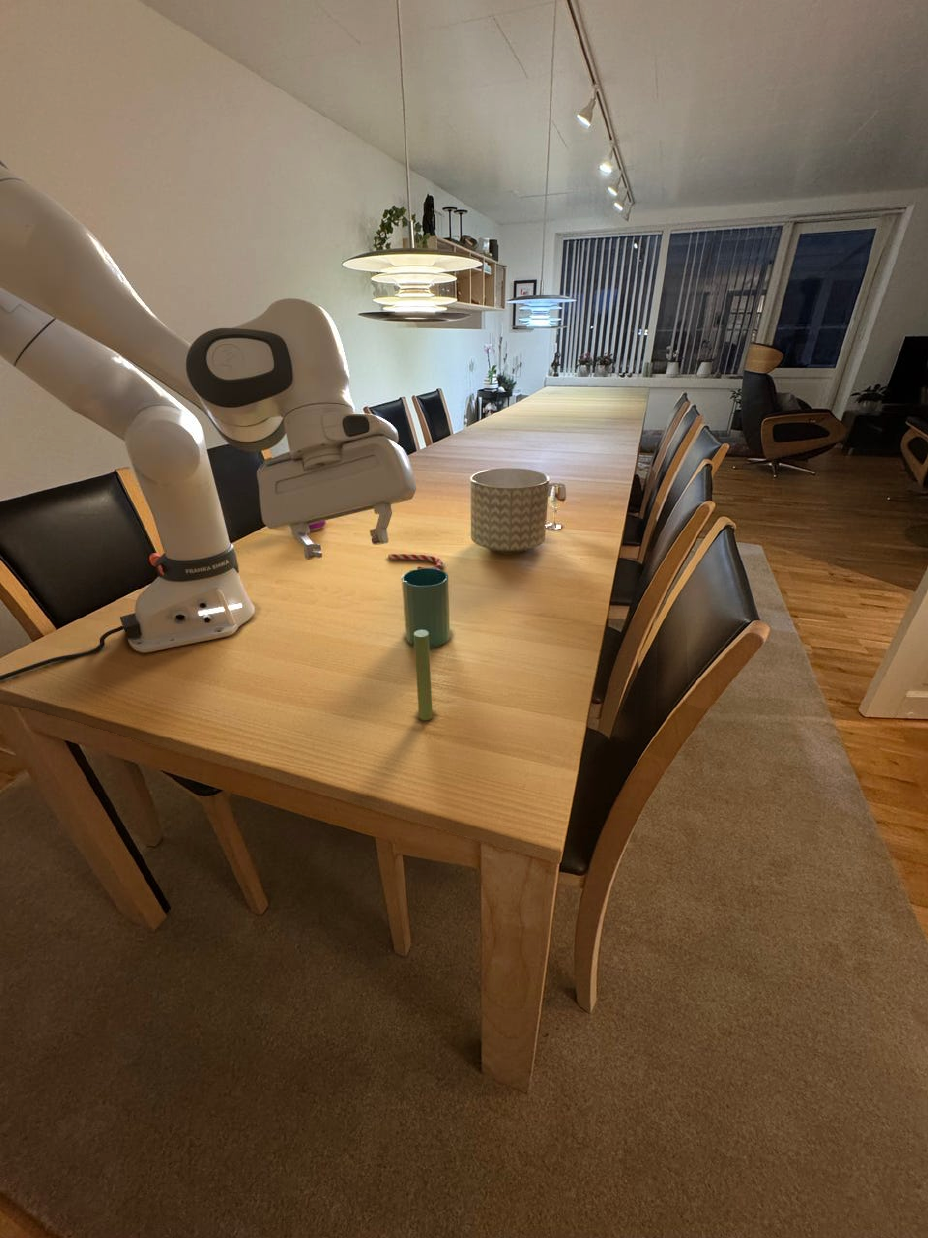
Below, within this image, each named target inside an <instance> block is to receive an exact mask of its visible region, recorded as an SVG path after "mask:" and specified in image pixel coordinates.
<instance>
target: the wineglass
mask: <svg viewBox="0 0 928 1238" xmlns="http://www.w3.org/2000/svg"><path fill="white" fill-rule="evenodd" d="M566 489H567V487H566V484H564V483H563V482H552V483H551V482H549V492H548V507H550V508H551V509H552V523H549V524H546V529H548V530H553V531H554V530H560V529H562V526H561V525H560V524H556V515H557V509H558V508H561V507H563V506H564V505H565V504H566V500H567V490H566Z"/></svg>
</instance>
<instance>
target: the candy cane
mask: <svg viewBox="0 0 928 1238" xmlns="http://www.w3.org/2000/svg"><path fill="white" fill-rule="evenodd" d="M387 558H388V560H410V561H412V560H413V561H425V562H427V561H428V562H432V563H435V564H436V565H432V566H417V567H416V569H419V568H435V569H439V570H442V568H443V565H444V564H443V561H442V560H441V558H438V557H436V556H432V555H427V554H411V553H389V554H388V556H387Z"/></svg>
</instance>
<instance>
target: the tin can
mask: <svg viewBox="0 0 928 1238" xmlns="http://www.w3.org/2000/svg"><path fill="white" fill-rule="evenodd" d="M449 584H450V583H449V574H448V572H446V571H444V570H443V569H440V570H439V569H435V568H419V569H417V568H414V569H410V570H408V571H406V572H405V573H403V575H401V590H402V601H403V602H402V605H403V615H404V616H403V617H404V629H405V630H404V631H405V638H406V642H407V643H408V644H409V645H411V646H413V647H414V632H415V631H417V630H426V631H428V633H429V649H434V648H437V647H441V646H443V645H445V644H446V643H447V642H448V641H449V640H450V638H451V625H450V618H451V617H450V587H449V586H450V585H449Z"/></svg>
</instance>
